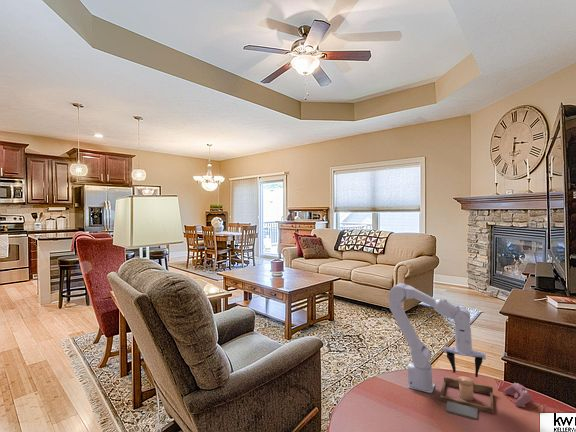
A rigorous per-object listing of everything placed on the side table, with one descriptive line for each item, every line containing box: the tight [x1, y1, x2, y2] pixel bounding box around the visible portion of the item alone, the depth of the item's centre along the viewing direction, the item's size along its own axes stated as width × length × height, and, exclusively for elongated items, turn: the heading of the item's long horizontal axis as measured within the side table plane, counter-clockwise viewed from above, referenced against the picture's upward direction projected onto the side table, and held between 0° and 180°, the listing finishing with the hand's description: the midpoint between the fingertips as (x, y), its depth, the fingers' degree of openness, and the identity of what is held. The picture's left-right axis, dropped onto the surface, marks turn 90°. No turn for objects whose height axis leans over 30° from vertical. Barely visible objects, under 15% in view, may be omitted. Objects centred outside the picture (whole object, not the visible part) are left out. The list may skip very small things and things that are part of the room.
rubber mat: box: [444, 401, 479, 421], centre depth 114 cm, size 10×7×1 cm
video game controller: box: [503, 382, 532, 408], centre depth 119 cm, size 10×5×7 cm, turn 169°
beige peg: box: [457, 375, 475, 402], centre depth 122 cm, size 5×5×7 cm
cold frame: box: [439, 376, 494, 414], centre depth 122 cm, size 18×15×3 cm
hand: (465, 373), depth 123 cm, fingers open, 7 cm apart
